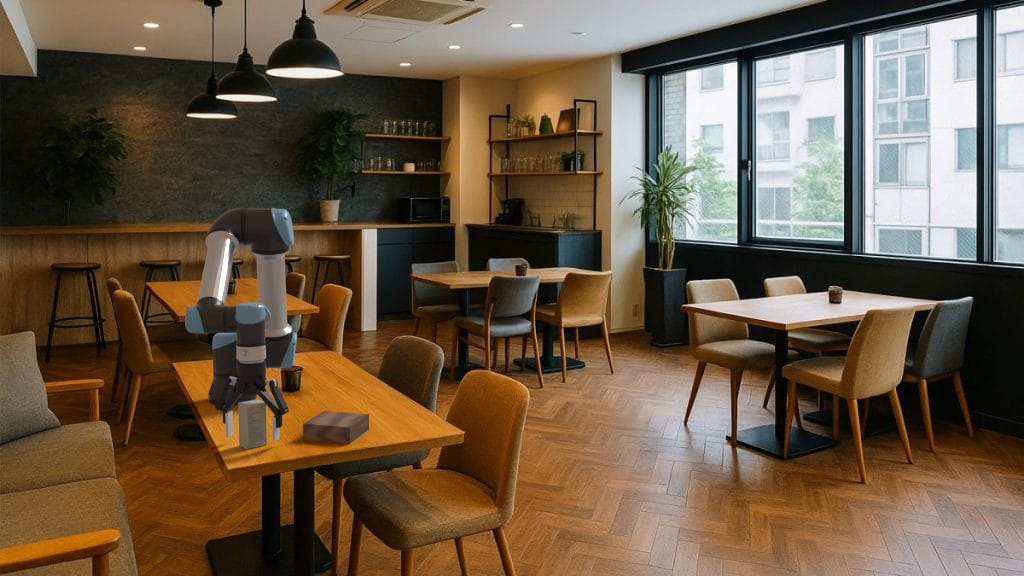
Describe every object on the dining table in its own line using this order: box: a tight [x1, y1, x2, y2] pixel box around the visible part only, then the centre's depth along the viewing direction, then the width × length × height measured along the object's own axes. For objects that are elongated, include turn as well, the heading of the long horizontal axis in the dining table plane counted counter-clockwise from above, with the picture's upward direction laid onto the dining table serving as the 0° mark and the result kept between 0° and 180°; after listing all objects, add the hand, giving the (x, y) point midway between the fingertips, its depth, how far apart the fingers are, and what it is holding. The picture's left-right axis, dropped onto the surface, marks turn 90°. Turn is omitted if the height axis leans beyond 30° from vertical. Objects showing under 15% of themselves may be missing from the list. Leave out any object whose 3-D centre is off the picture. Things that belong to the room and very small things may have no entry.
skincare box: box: [237, 398, 268, 450], centre depth 218 cm, size 6×4×12 cm
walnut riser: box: [302, 410, 370, 445], centre depth 230 cm, size 14×14×5 cm
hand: (252, 437), depth 219 cm, fingers open, 13 cm apart
